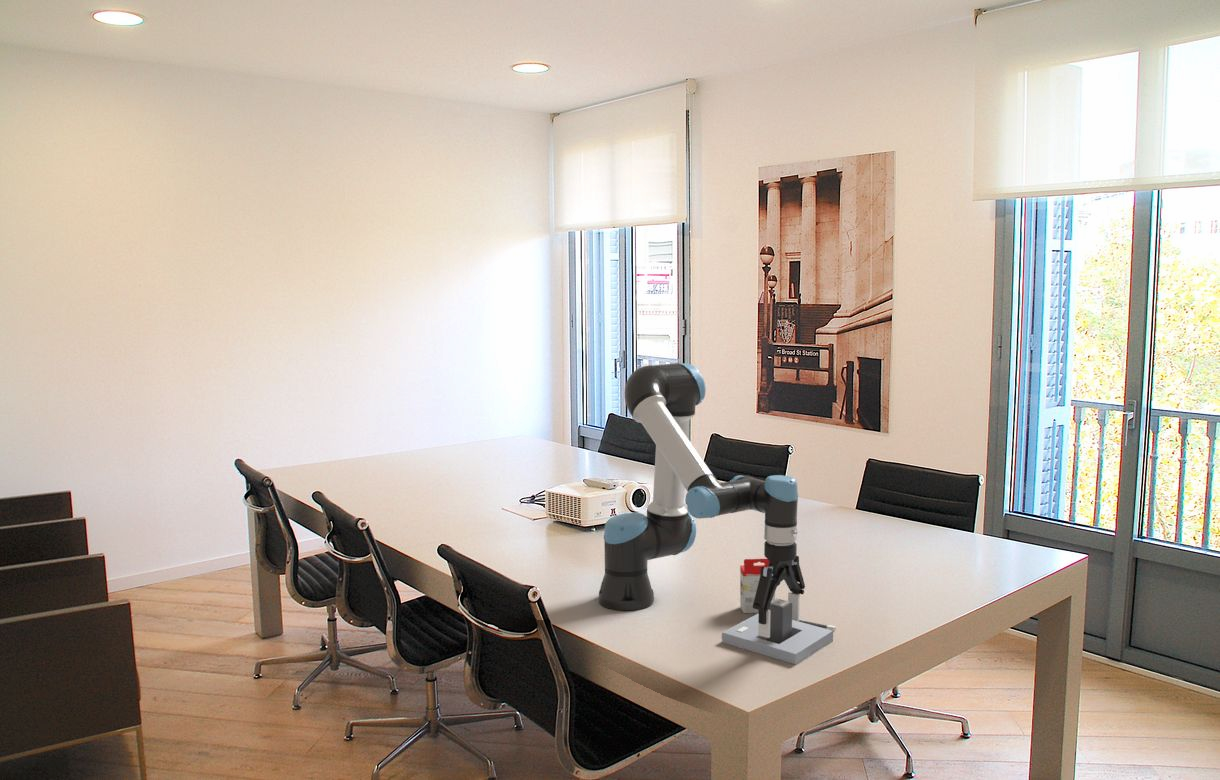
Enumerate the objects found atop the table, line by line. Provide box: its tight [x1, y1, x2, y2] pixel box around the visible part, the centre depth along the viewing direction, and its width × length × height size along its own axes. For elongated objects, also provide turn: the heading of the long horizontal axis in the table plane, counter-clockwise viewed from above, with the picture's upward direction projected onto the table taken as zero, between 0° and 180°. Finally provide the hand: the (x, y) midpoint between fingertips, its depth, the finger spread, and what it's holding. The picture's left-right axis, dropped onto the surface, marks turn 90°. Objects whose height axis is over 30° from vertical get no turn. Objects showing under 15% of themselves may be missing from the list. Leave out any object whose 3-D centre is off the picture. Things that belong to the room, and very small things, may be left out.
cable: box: [799, 619, 837, 632], centre depth 229 cm, size 17×1×1 cm, turn 57°
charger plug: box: [766, 598, 792, 644], centre depth 216 cm, size 4×4×11 cm
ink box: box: [739, 558, 776, 614], centre depth 238 cm, size 8×5×15 cm, turn 92°
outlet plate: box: [721, 613, 834, 666], centre depth 218 cm, size 20×18×3 cm
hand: (779, 627), depth 216 cm, fingers open, 13 cm apart
